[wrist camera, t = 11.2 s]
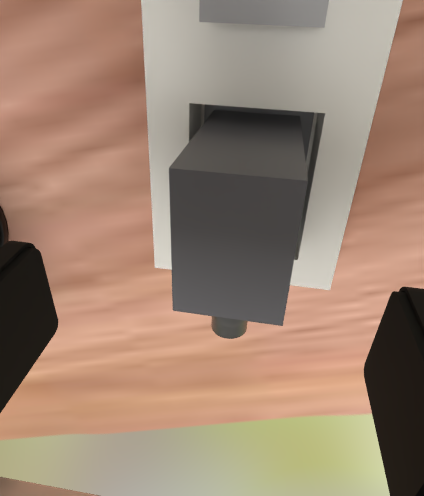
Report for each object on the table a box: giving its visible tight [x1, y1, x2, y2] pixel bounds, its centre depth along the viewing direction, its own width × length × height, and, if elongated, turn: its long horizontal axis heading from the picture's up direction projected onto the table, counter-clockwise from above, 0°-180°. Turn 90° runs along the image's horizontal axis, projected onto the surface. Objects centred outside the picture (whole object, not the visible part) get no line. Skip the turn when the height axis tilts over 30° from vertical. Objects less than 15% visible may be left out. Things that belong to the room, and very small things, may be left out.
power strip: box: [141, 0, 403, 290], centre depth 16 cm, size 20×10×9 cm, turn 178°
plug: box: [169, 110, 308, 339], centre depth 18 cm, size 8×4×9 cm, turn 178°
